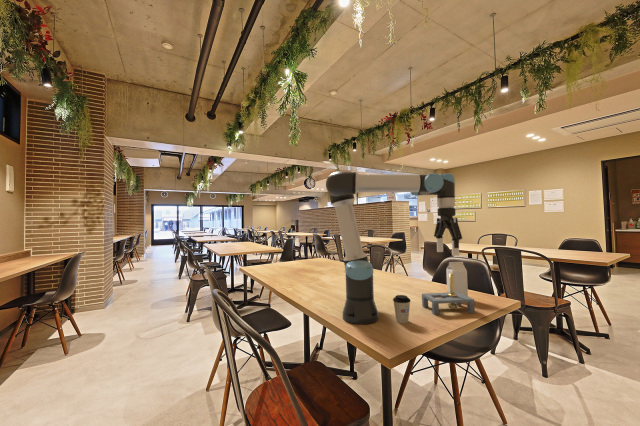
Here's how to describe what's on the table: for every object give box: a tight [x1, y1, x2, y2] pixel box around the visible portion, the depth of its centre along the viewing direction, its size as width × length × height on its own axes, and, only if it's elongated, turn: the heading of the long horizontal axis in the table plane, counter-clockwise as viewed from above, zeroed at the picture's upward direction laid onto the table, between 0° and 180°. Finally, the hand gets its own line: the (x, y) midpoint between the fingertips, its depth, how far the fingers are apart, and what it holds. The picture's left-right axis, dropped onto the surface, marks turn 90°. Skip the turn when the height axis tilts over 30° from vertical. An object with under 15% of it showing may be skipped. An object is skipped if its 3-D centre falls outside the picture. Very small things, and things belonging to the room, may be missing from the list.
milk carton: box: [445, 261, 469, 297], centre depth 138 cm, size 7×7×19 cm
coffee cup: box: [392, 294, 412, 324], centre depth 111 cm, size 7×7×10 cm
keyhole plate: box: [421, 292, 476, 316], centre depth 123 cm, size 18×12×6 cm, turn 94°
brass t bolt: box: [447, 274, 458, 310], centre depth 123 cm, size 4×4×15 cm
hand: (447, 253), depth 125 cm, fingers open, 13 cm apart
